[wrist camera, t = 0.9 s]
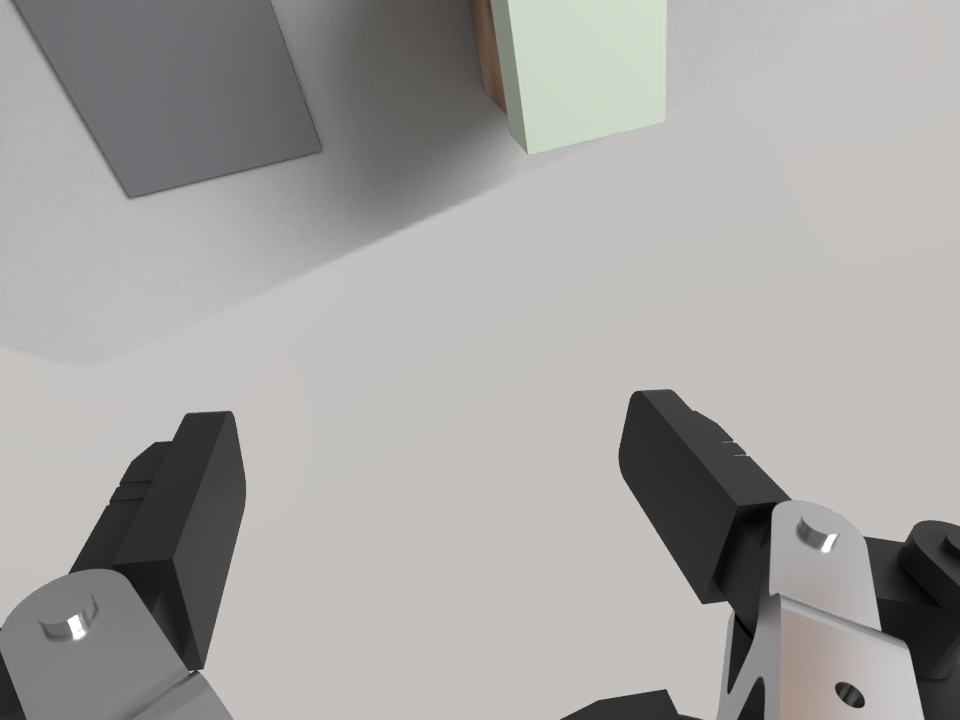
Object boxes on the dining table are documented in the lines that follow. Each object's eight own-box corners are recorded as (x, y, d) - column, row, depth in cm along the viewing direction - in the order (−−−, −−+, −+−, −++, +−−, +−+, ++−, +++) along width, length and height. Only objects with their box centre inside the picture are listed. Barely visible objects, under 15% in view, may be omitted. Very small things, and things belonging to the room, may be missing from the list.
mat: (-37, -93, 26) (-41, -94, 26) (217, -151, 26) (215, -152, 26) (131, 196, 34) (129, 197, 34) (322, 149, 35) (322, 150, 34)
